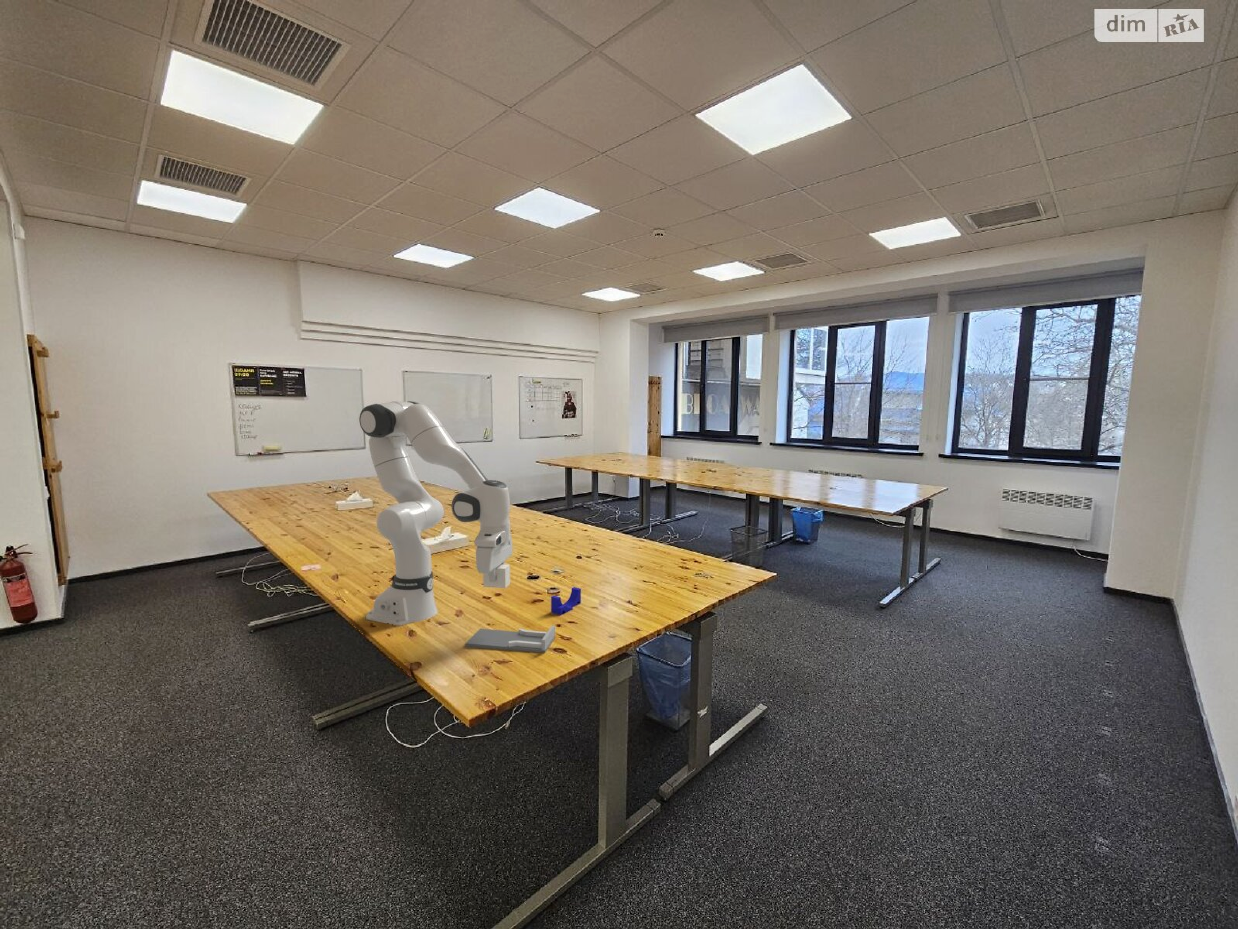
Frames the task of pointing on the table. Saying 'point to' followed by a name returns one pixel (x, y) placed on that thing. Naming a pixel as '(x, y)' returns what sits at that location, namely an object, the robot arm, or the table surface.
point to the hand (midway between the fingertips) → (496, 578)
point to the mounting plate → (512, 640)
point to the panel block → (498, 577)
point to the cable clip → (568, 606)
